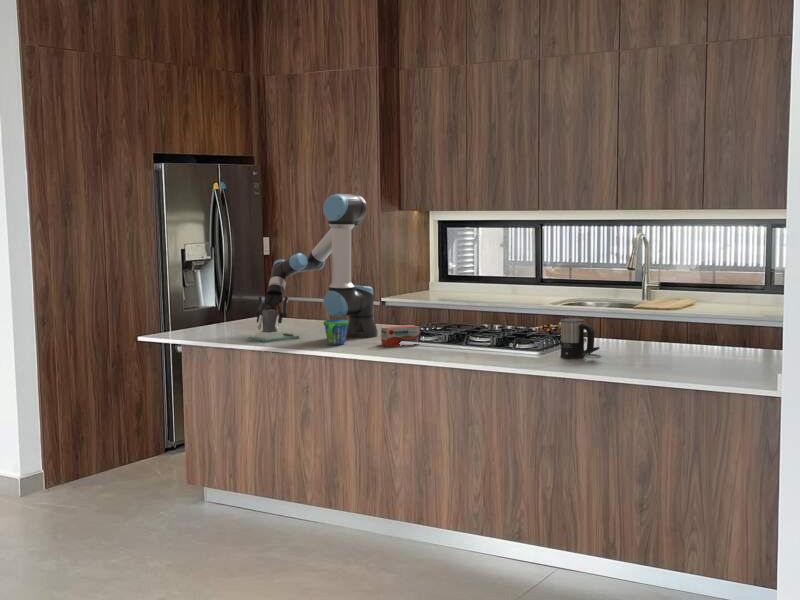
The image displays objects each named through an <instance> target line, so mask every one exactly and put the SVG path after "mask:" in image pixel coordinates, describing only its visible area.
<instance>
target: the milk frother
mask: <svg viewBox="0 0 800 600" xmlns="http://www.w3.org/2000/svg"><path fill="white" fill-rule="evenodd" d="M559 321H560V322H561V336H560V358H561V357H562V359H566V358H572V359H574V360H575V359H576V358H578V359H582V358H585V355H590V354H592V353H594V352H596V351H598V350H599V349H600V348H601V347H600V346H598V347H597V346H595V335H596V334H595V329H594V327H593V326H592V325H590V324H588V323H584V321H585V319H583V318H565V319H564V318H563V319H560V320H559ZM584 329H585V330H586V331H587V332H586V333H587V337H586V349H585V332H584ZM594 346H595V347H594ZM572 359H571V360H572Z"/></svg>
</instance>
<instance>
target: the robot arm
mask: <svg viewBox="0 0 800 600" xmlns="http://www.w3.org/2000/svg"><path fill="white" fill-rule="evenodd" d="M322 210H323V213H322V214H323V215H324V216H325V219H327V220H328V226H329V227H330V229H328V231H327V232H326V233H325V235H324V236H323V237H322V239H320V241H319V242H318V243H317V244H316V245H315V247H314V248H313V249H312V250H311V251H310V253H308V254H307V255H306V254H303V253H301V252H297V253H296V254H292V256H290V257H288V258H287V259H283V258H281V259H277V260H275V261H274V262H273V265H272V267H271V273H270V278H269V282H268V285H267V286H268V287H267V291H266V295H265V297H262V296H259V297H258V302H257V305H256V306H255V307H256V308H255V309H254V312H253V313H254V314H253V315H254V317H255V318H256V323H257V325H256V327H257V329H258V330H257V331H261V330H262V329H261V328H262V325H263V320H262V310H269V308H271V307H273V306H274V307H277V311H278V314H276V318H277V319H276V324H275V328H276V330H278V331H279V327H280V324H282V322H283V318H287V316H288V304H289V302H290V300H289V297H288V296H286V297H284V293H285V290H286V289H285V288H286V285H287V280H288V278H290V277H291V276H293V275H295V274H296V273H304V272H316V271H320V270H322V269H323V268H324V267H325V264H326V260H327V258H328V257H329V256H330V255H331V283H330V284H329V285H328V291H327V292H326V293H325V295H324V296H323V302H322V303H323V307H324V309H325V311H326V312H327V314H328V315H330V316H332V317H335V318H337V317H338V318H339V317H340V318H343V317H346V316H347V318H348V319H347V321H348V325H347V332H346V337H347V338H353V339H354V338H356V339H357V338H358V339H359V338H373V337H377V336H378V335H379V334H378V333H379V332H378V331H379V330H378V328H377V325H376V321H375V319H374V314H375V313H374V305H375V304H374V289H373V287H372V286H369V285H368V286H364V285H355V284H353V282H352V230H353V229H354V227H358V226H359V225H360V224H361V223H362V221H363V220H364V219H365V217H366V215H367V212H368V204H367V202H366V200H365V198H364V197H363V196H361V195H360V194H357V193H335V194H332V195H329V196H328V197H327V199H325V201H324V203H323V207H322ZM282 302H283V312H282V308H281V306H280V305H281V303H282ZM263 304H264V305H263Z"/></svg>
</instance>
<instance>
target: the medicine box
mask: <svg viewBox="0 0 800 600" xmlns="http://www.w3.org/2000/svg"><path fill="white" fill-rule="evenodd" d="M419 333H420V334H421V330H420V327H419V326H417V325H413V324H411V325H393V326H381V328H380V340H381V345H382V346H385V347H387V348H391V347H392V348H393V347H401V346H400V344H399V343H400V342H401V341H409V340H416V339H417V337H418V335H419Z"/></svg>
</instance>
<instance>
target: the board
mask: <svg viewBox="0 0 800 600" xmlns="http://www.w3.org/2000/svg"><path fill="white" fill-rule="evenodd" d="M294 338H298V339H300V335H297V334H293V332H291V331H290V332H288V331H283V330H279V329H278V330H277V332H270V333H267V332H263V330H257V331H256V335H252V336H248V337H247V339H251V340H250V341H254V340H256V341H255V342H259V341H262V342H261V343H265V342H267V343H272V342H271V341H275V342H280V341H279V340H283V341H287V340H286V339H291V340H295V339H294Z"/></svg>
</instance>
